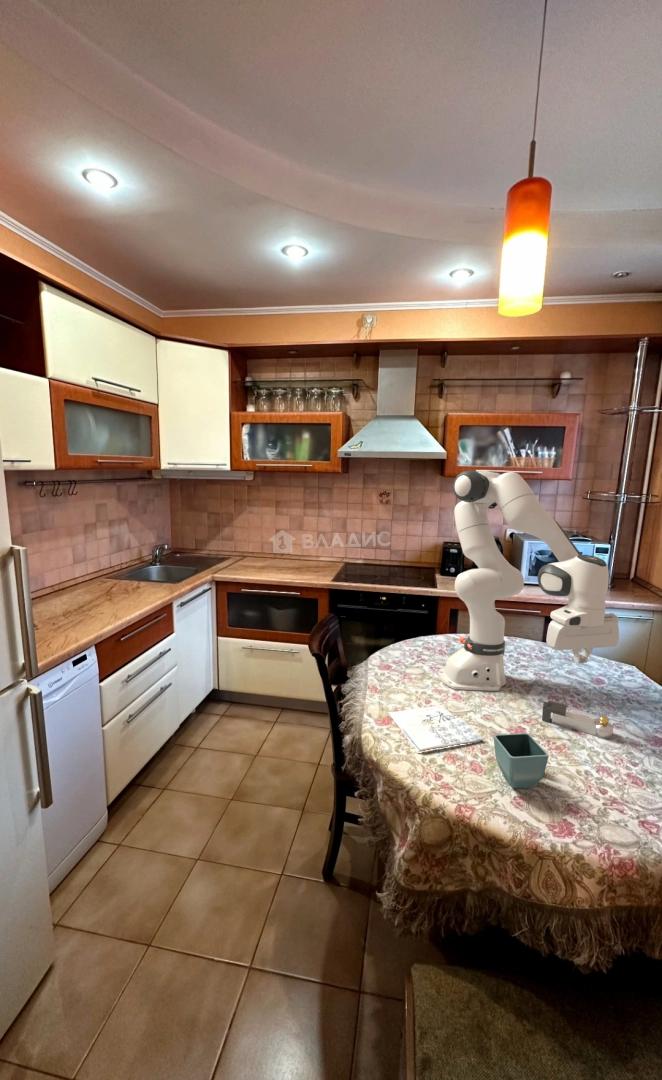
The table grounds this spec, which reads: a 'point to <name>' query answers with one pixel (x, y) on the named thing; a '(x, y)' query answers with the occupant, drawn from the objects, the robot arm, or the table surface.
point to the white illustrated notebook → (434, 728)
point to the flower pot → (520, 759)
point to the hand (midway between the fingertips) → (580, 662)
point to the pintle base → (562, 712)
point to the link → (584, 724)
